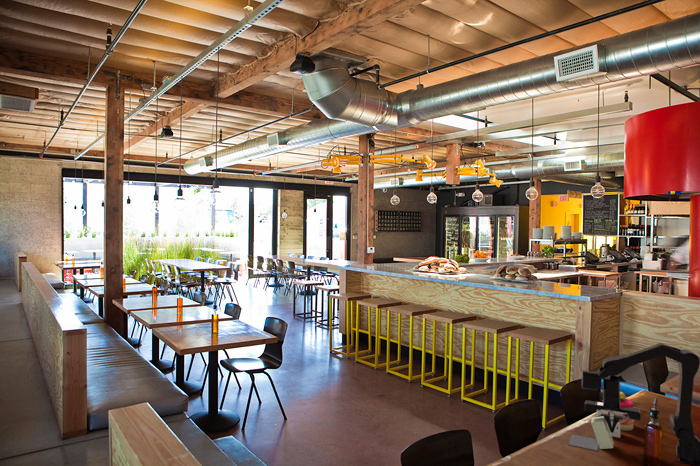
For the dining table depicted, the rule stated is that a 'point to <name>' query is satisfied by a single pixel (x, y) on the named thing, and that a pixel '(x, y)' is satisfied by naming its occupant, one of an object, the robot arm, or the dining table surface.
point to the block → (602, 432)
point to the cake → (626, 421)
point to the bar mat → (584, 442)
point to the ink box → (617, 429)
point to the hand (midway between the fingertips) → (611, 432)
